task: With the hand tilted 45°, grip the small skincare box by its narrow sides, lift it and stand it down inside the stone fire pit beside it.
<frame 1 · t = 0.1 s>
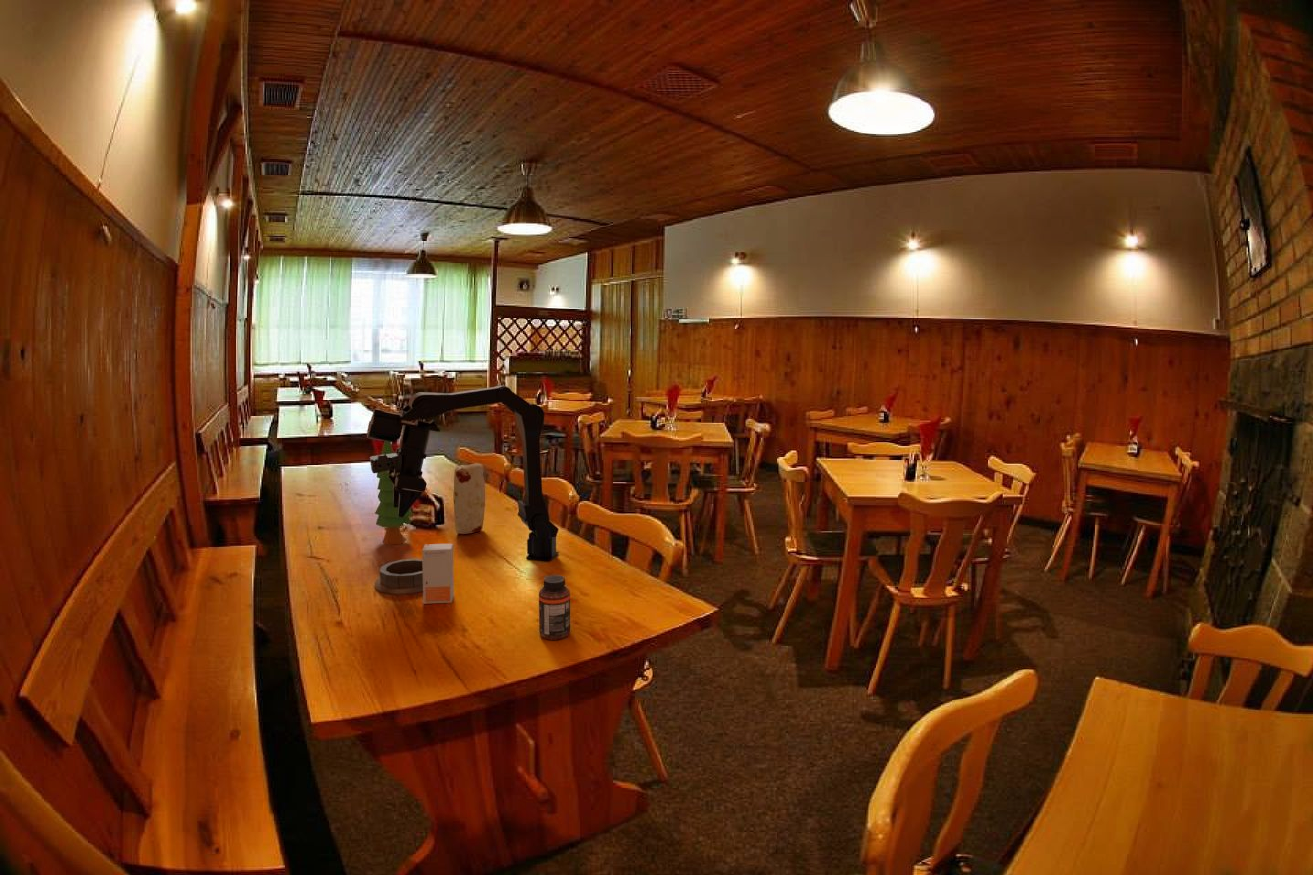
hand: (398, 511, 161), 15 cm above the table, tool pointing down, fingers open, 9 cm apart
supplement bottle: (554, 635, 134), on the table
decorative tree: (396, 541, 190), on the table
stone fire pit: (407, 583, 159), on the table
skincare box: (439, 601, 149), on the table
food model: (470, 533, 199), on the table
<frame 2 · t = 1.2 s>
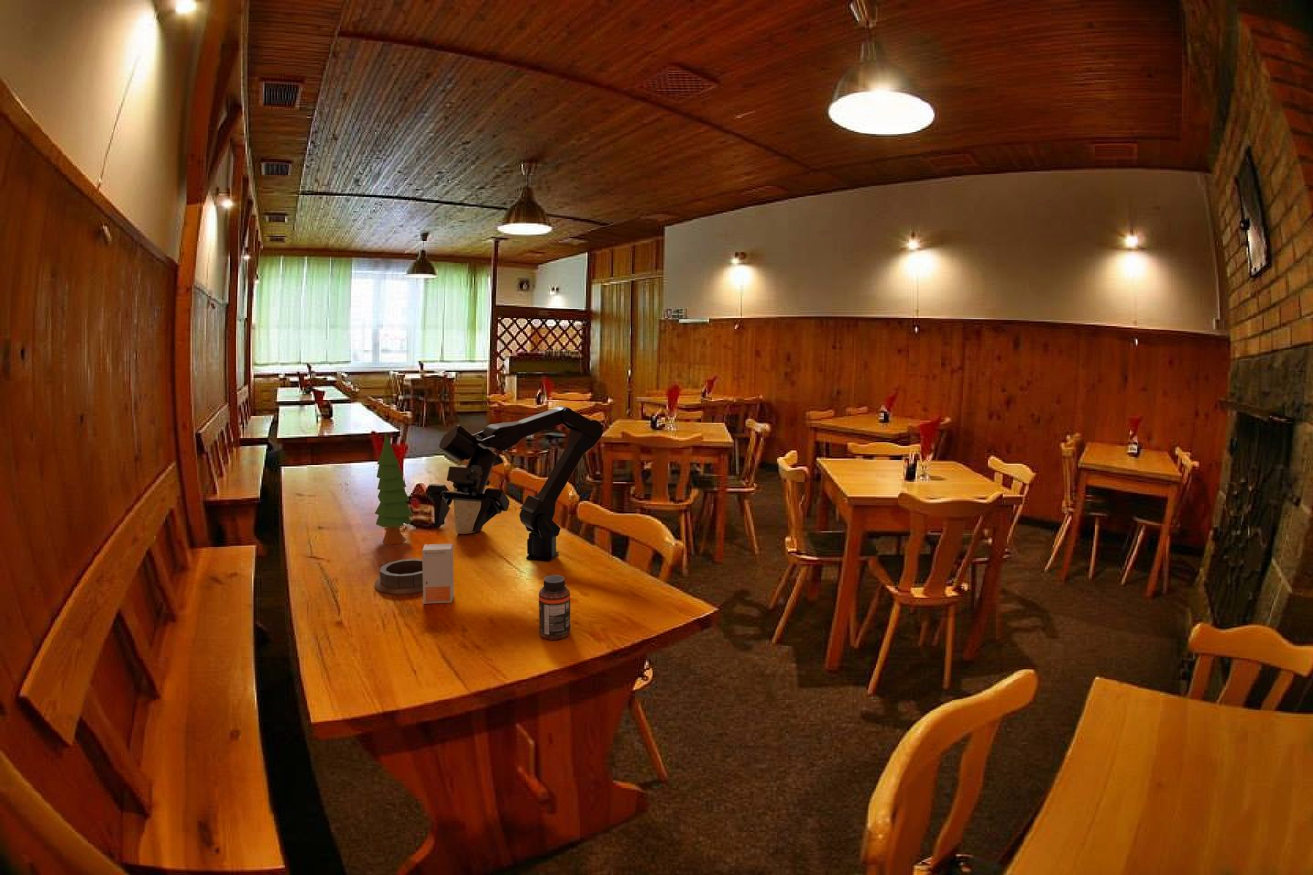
hand: (455, 529, 155), 13 cm above the table, tool tilted 45°, fingers open, 9 cm apart
nothing on the table moved.
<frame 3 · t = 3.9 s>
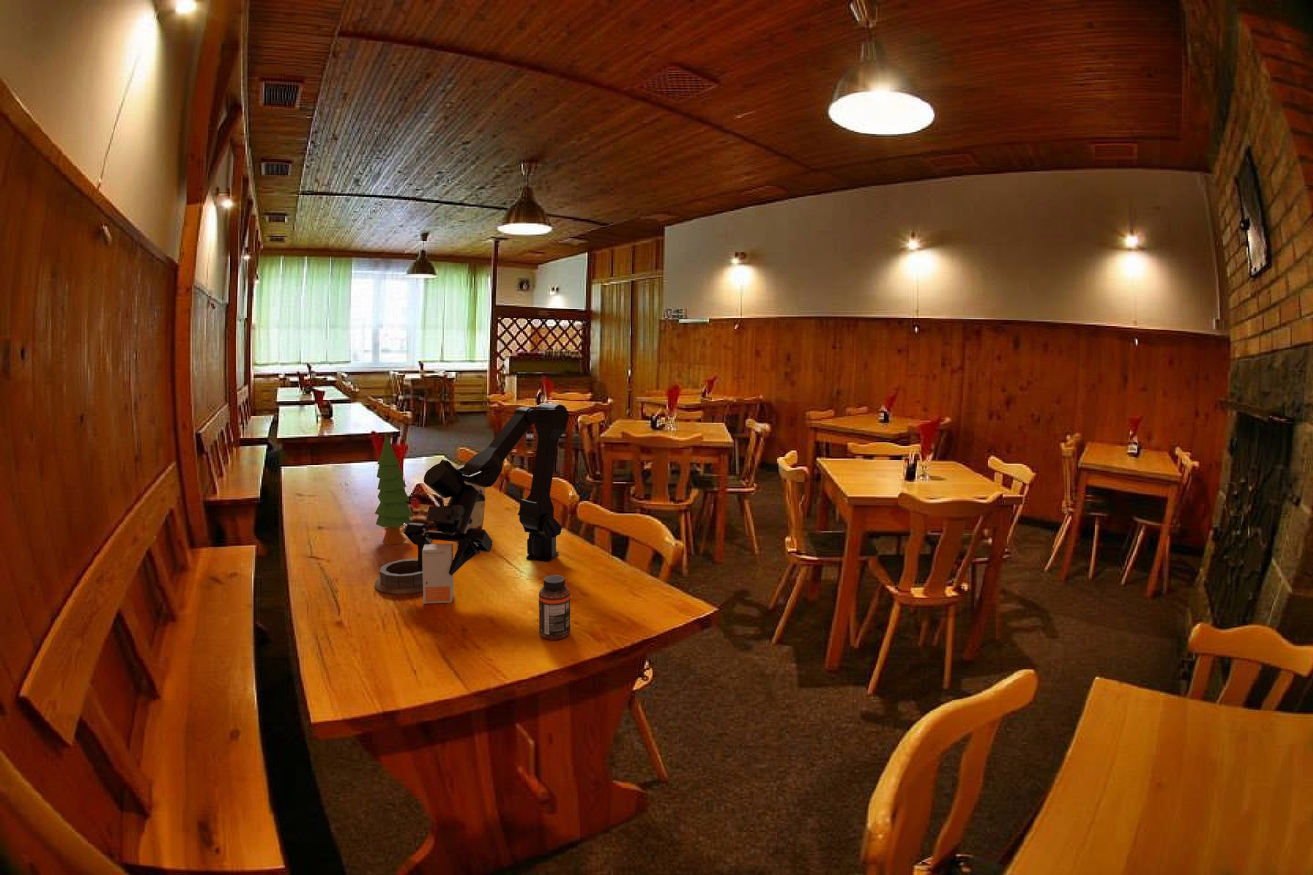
hand: (434, 572, 147), 7 cm above the table, tool tilted 45°, fingers closed on skincare box, 7 cm apart
skincare box: (439, 601, 149), on the table, touching gripper
everything else where it was.
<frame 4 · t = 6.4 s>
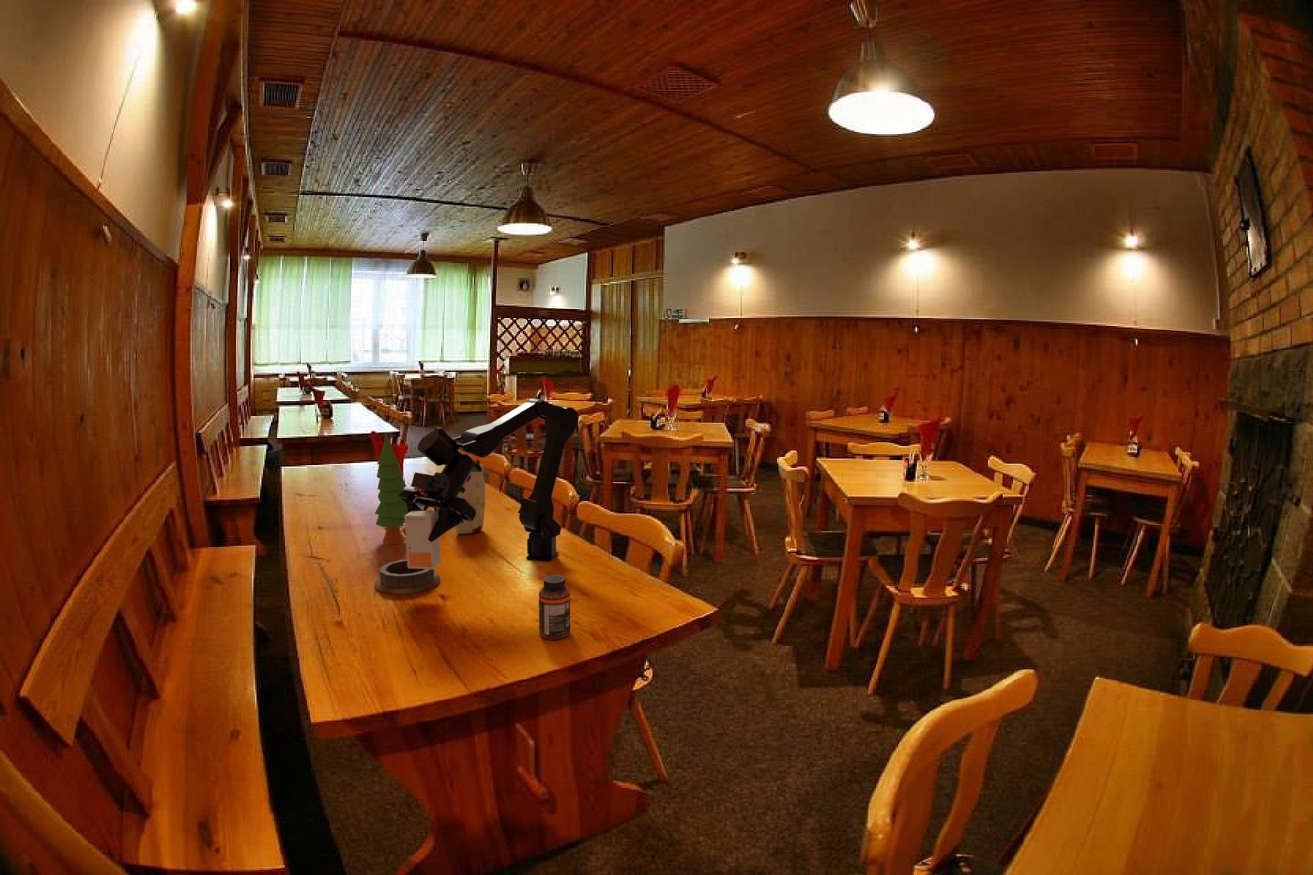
hand: (417, 538, 149), 13 cm above the table, tool tilted 45°, fingers closed on skincare box, 7 cm apart
skincare box: (424, 567, 152), point 6 cm above the table, touching gripper
everything else where it was.
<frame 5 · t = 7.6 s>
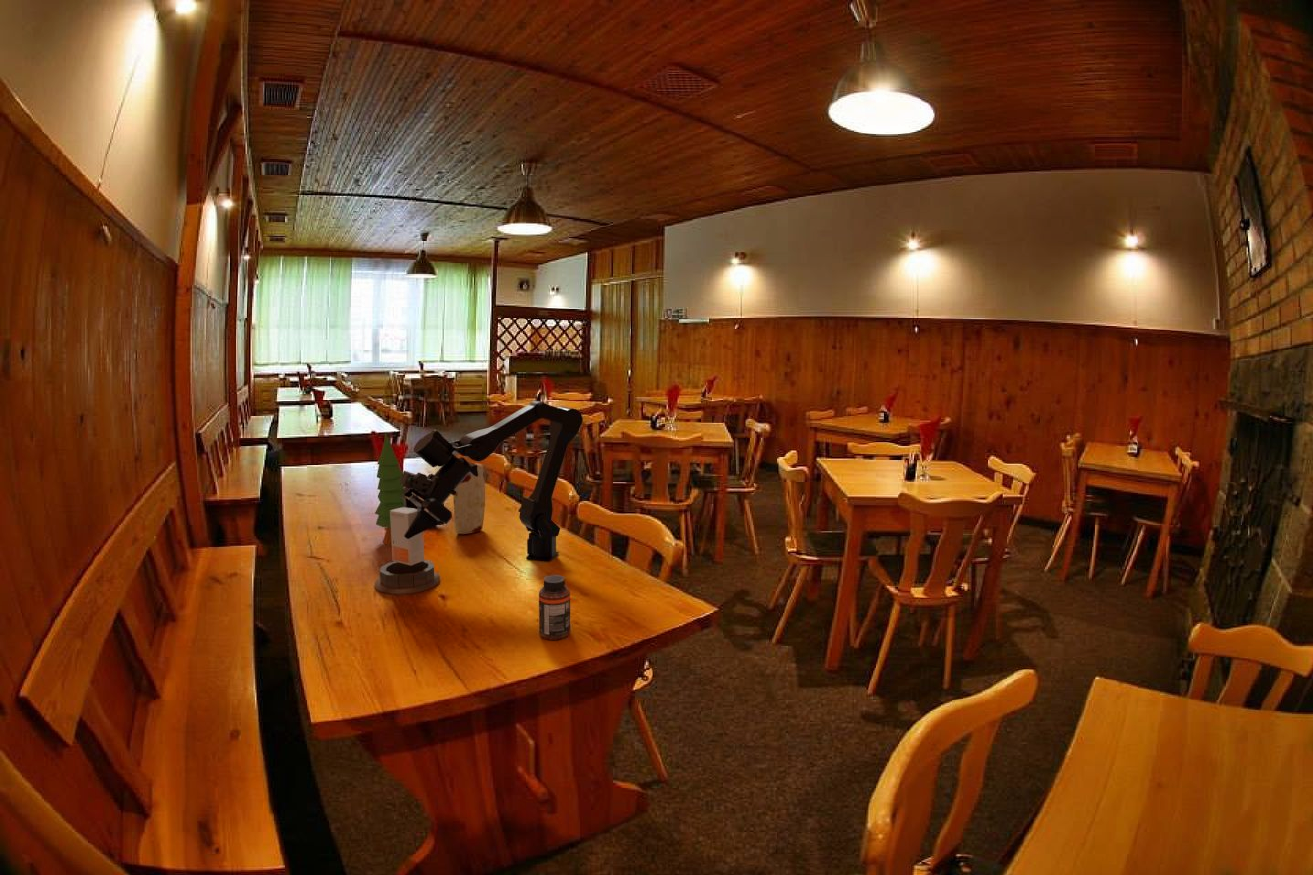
hand: (400, 533, 156), 12 cm above the table, tool tilted 45°, fingers closed on skincare box, 7 cm apart
skincare box: (408, 562, 158), point 5 cm above the table, touching gripper
everything else where it was.
when the fingers open (9 cm above the table, at t = 8.8 s): skincare box drops 1 cm, resting on stone fire pit.
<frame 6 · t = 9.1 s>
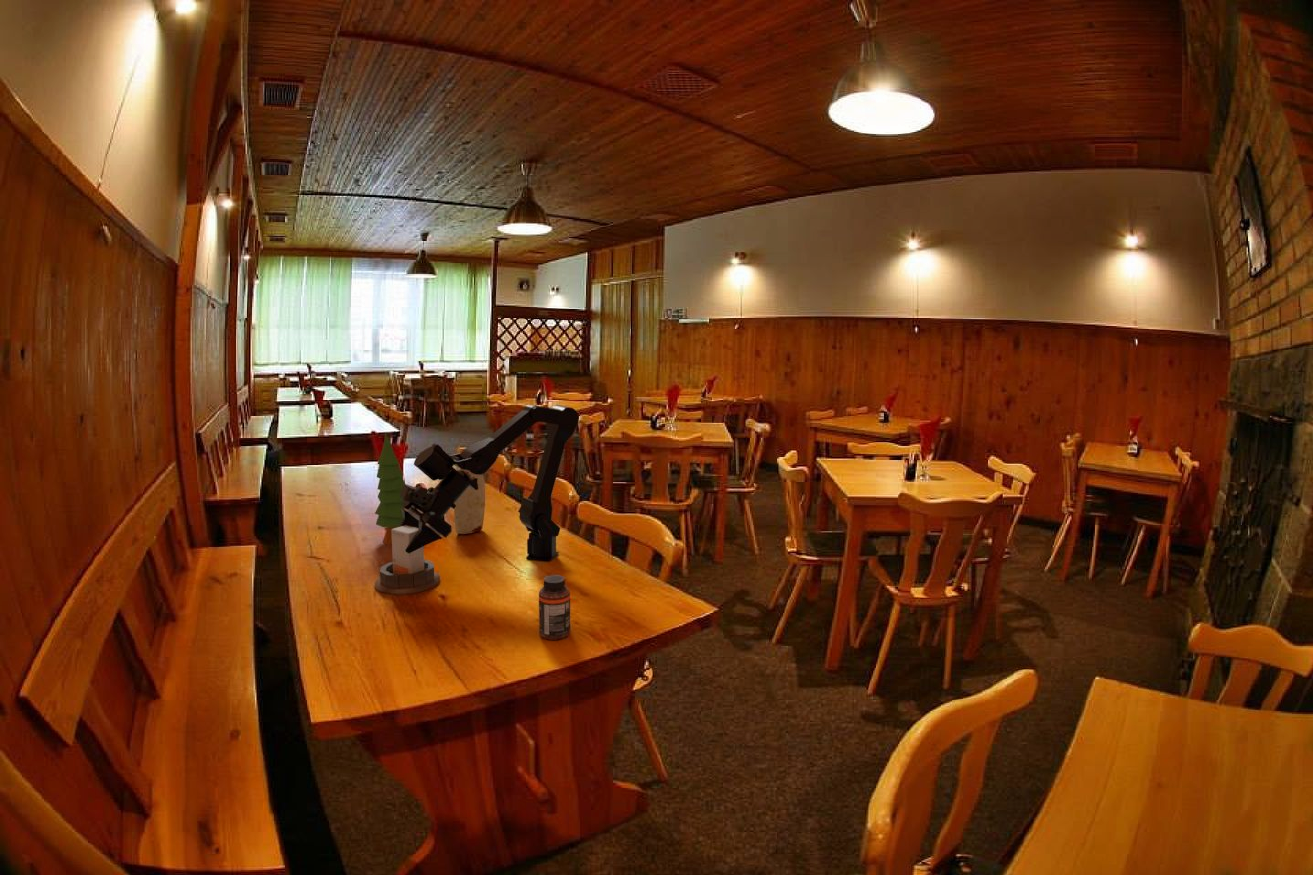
hand: (400, 546, 157), 9 cm above the table, tool tilted 45°, fingers open, 9 cm apart
skincare box: (409, 580, 159), point 1 cm above the table, touching stone fire pit
everything else where it was.
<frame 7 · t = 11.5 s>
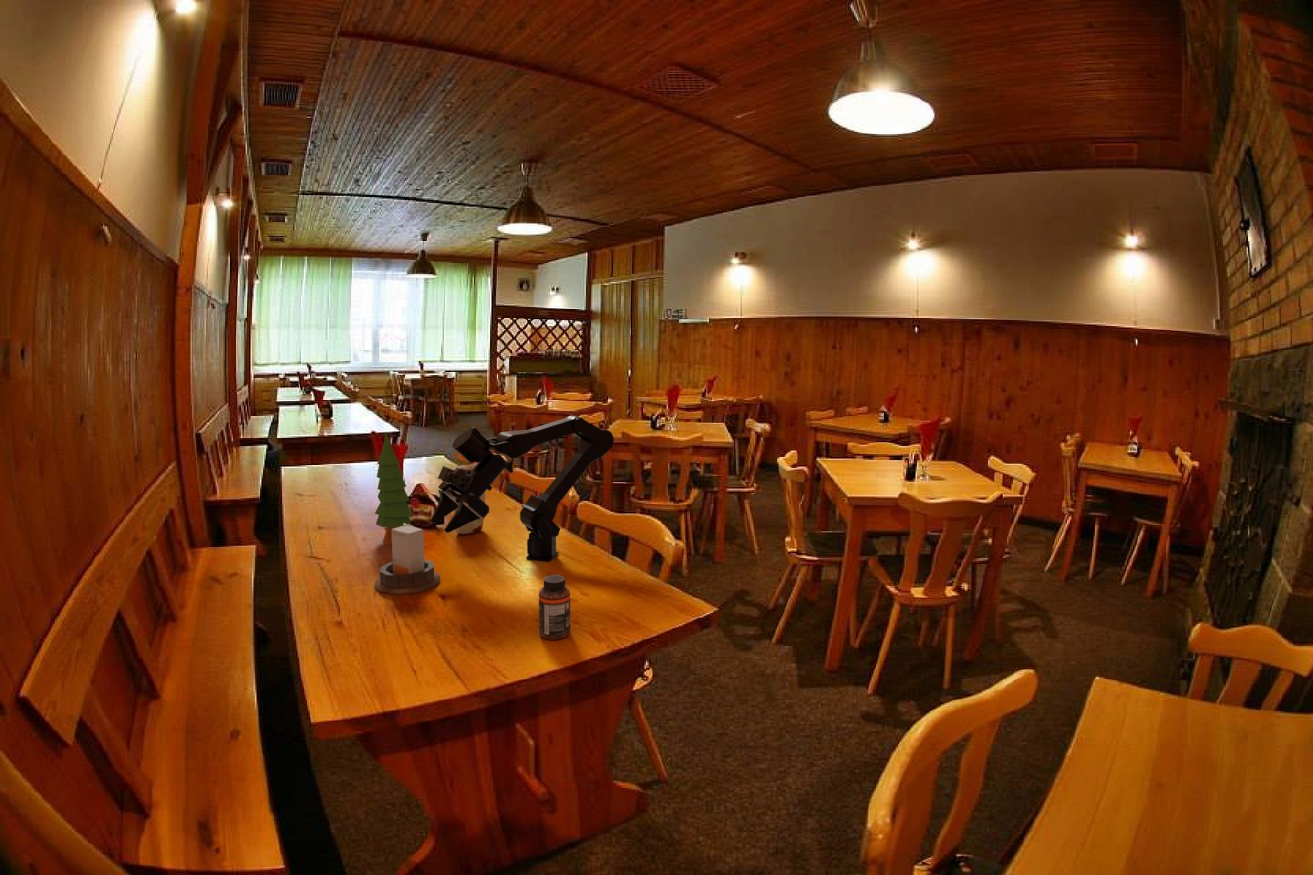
hand: (438, 526, 161), 12 cm above the table, tool tilted 45°, fingers open, 9 cm apart
nothing on the table moved.
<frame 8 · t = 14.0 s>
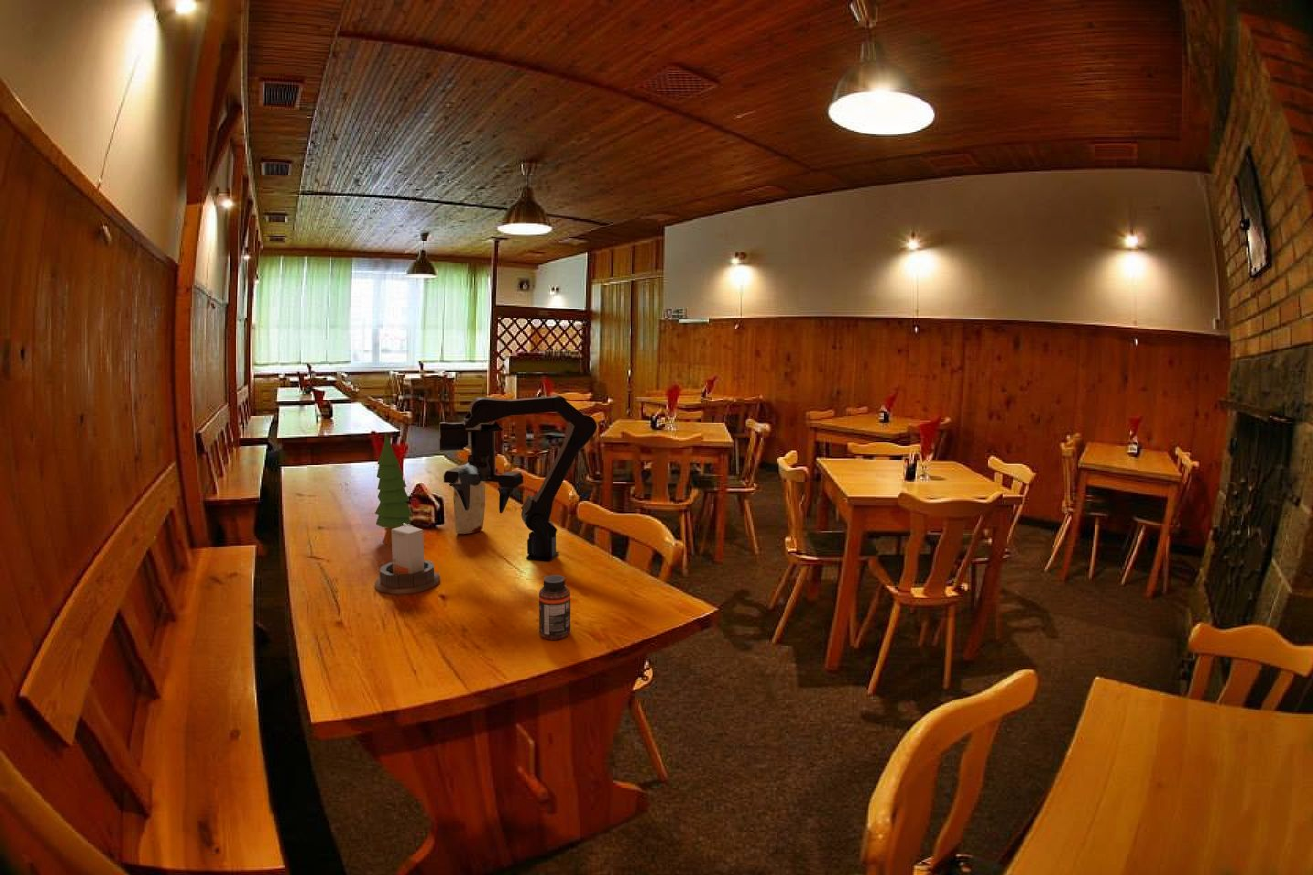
hand: (484, 511, 172), 13 cm above the table, tool pointing down, fingers open, 9 cm apart
nothing on the table moved.
at the end: skincare box 0.3 cm from the stone fire pit (horizontally); skincare box point 0.6 cm above the table; skincare box tilted 0° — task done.
